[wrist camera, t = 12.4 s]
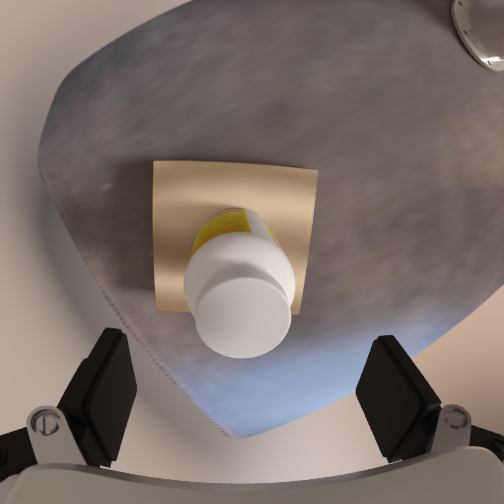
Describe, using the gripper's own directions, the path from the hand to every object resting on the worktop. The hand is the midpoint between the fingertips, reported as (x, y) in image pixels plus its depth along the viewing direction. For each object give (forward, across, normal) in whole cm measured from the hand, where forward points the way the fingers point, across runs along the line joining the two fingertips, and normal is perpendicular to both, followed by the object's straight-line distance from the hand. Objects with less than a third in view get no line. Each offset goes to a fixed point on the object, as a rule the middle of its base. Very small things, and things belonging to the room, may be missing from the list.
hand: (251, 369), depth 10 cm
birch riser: (+21, +1, +1) cm, 21 cm away
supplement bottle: (+17, 0, +1) cm, 17 cm away
